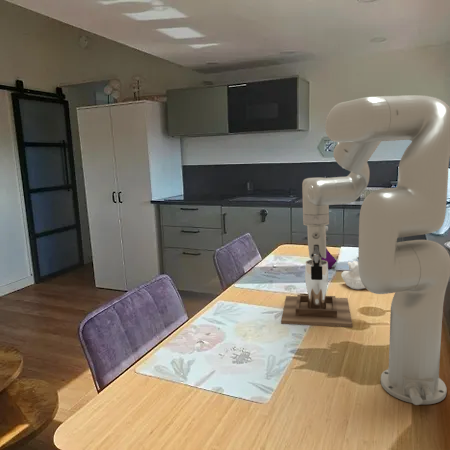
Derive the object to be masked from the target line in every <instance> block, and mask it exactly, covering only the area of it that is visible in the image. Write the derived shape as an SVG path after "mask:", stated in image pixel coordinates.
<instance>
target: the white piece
mask: <svg viewBox="0 0 450 450" xmlns="http://www.w3.org/2000/svg"><path fill="white" fill-rule="evenodd" d="M319 264H320V263H319ZM311 266H312V259H308V260H306V261H305V267H304V279H305V280H304V281H305V287H306V291H307V292H306V293H307V295H308V303H307V308H310V309H327V306H326V300H325V297H326V296H327V289H328V285H329V269H328V262H327V261H325V260H321V266H322V280H312V279H311Z"/></svg>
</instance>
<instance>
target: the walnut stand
mask: <svg viewBox="0 0 450 450" xmlns="http://www.w3.org/2000/svg"><path fill="white" fill-rule="evenodd" d="M325 300H326V306H327V309H310V308H307V303H308V294H306V295H305V294H296V295H286V296H285V300H284V305H283V310H282V313H281V314H282V315H281V320H280V324H285V325H303V326H304V325H305V326H325V327H340V328H341V327H342V328H343V327H344V328H353V320H352V316H351V314H352V313H351V309H350V305H349V299H348V297H336V295H326V297H325Z"/></svg>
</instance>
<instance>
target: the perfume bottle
mask: <svg viewBox="0 0 450 450" xmlns="http://www.w3.org/2000/svg"><path fill="white" fill-rule="evenodd" d="M325 228H326V232H329V226H328V225H325ZM326 239H327V236H326ZM321 258H322V257H321ZM322 260H325V261H327V262H328V270H329V269H331V268H332V267H333V266H334V265H335V264H336V263H337V259H336V258H335V257H334V256H333V255H332V254H331V253H330V251H329V250H328V248H327V247H326V258H325V259H324V258H322Z"/></svg>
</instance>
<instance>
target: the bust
mask: <svg viewBox="0 0 450 450" xmlns="http://www.w3.org/2000/svg"><path fill="white" fill-rule="evenodd" d="M347 265H348V270H343V272H341V273H340V274H341V279H342V280H343V281H344V283H345V285H346V286H347V287H349V288H350V289H353V290H363V289H366V288H365V287H364V285H363V283H362V281H361V278H360V275H359V266H358V261H357V260H353V261H347Z"/></svg>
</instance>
